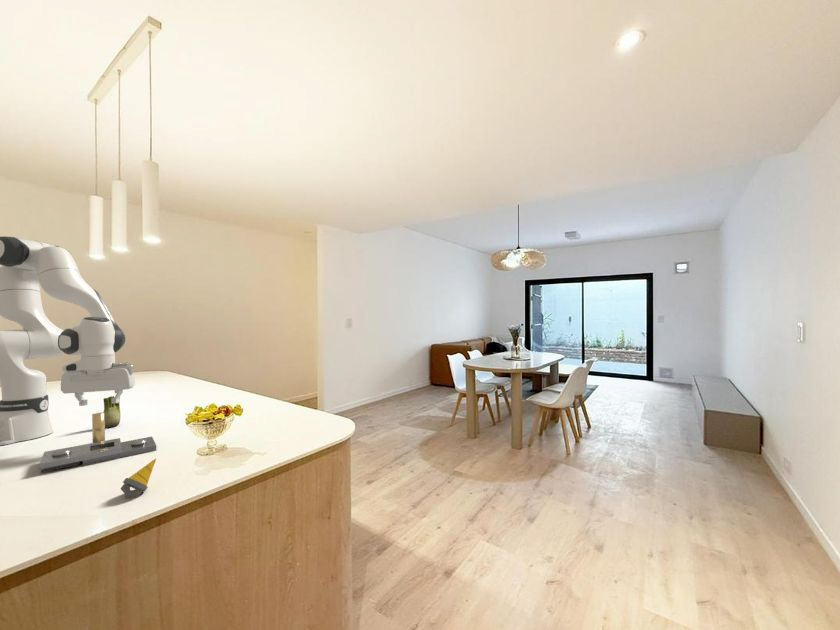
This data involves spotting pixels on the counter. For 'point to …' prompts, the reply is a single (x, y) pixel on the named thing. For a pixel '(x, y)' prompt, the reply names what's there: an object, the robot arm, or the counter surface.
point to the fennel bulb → (111, 412)
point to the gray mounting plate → (95, 453)
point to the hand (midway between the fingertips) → (99, 404)
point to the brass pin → (98, 427)
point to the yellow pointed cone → (138, 481)
